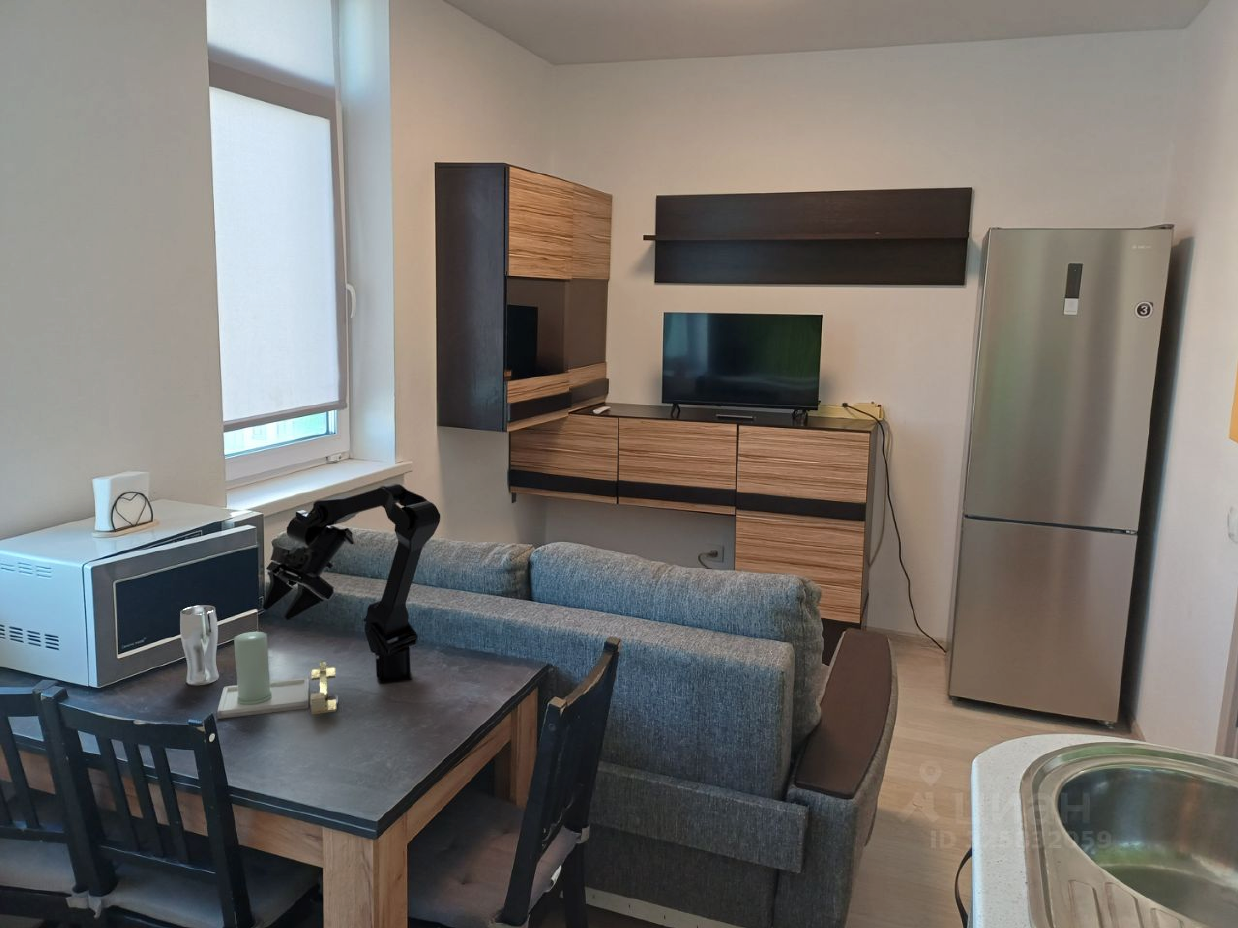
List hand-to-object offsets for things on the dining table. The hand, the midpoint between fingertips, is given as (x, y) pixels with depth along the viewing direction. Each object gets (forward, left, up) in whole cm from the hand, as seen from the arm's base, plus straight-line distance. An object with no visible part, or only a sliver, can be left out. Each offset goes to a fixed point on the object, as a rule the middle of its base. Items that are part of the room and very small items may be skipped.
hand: (274, 613), depth 188 cm
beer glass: (+15, -3, -14) cm, 20 cm away
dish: (+2, +12, -14) cm, 18 cm away
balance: (-9, +18, -14) cm, 25 cm away
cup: (+4, +12, -13) cm, 18 cm away
